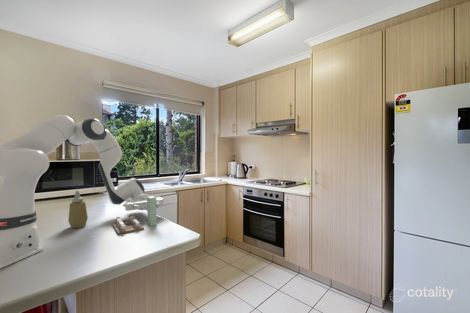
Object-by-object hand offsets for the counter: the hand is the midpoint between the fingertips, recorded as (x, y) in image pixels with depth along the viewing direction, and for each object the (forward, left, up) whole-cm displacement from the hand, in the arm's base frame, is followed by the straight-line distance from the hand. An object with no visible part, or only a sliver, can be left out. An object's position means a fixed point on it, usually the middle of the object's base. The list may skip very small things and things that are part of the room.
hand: (148, 206), depth 116 cm
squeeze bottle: (-4, +34, -9) cm, 35 cm away
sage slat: (-4, -3, -8) cm, 10 cm away
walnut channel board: (-7, +8, -8) cm, 14 cm away
